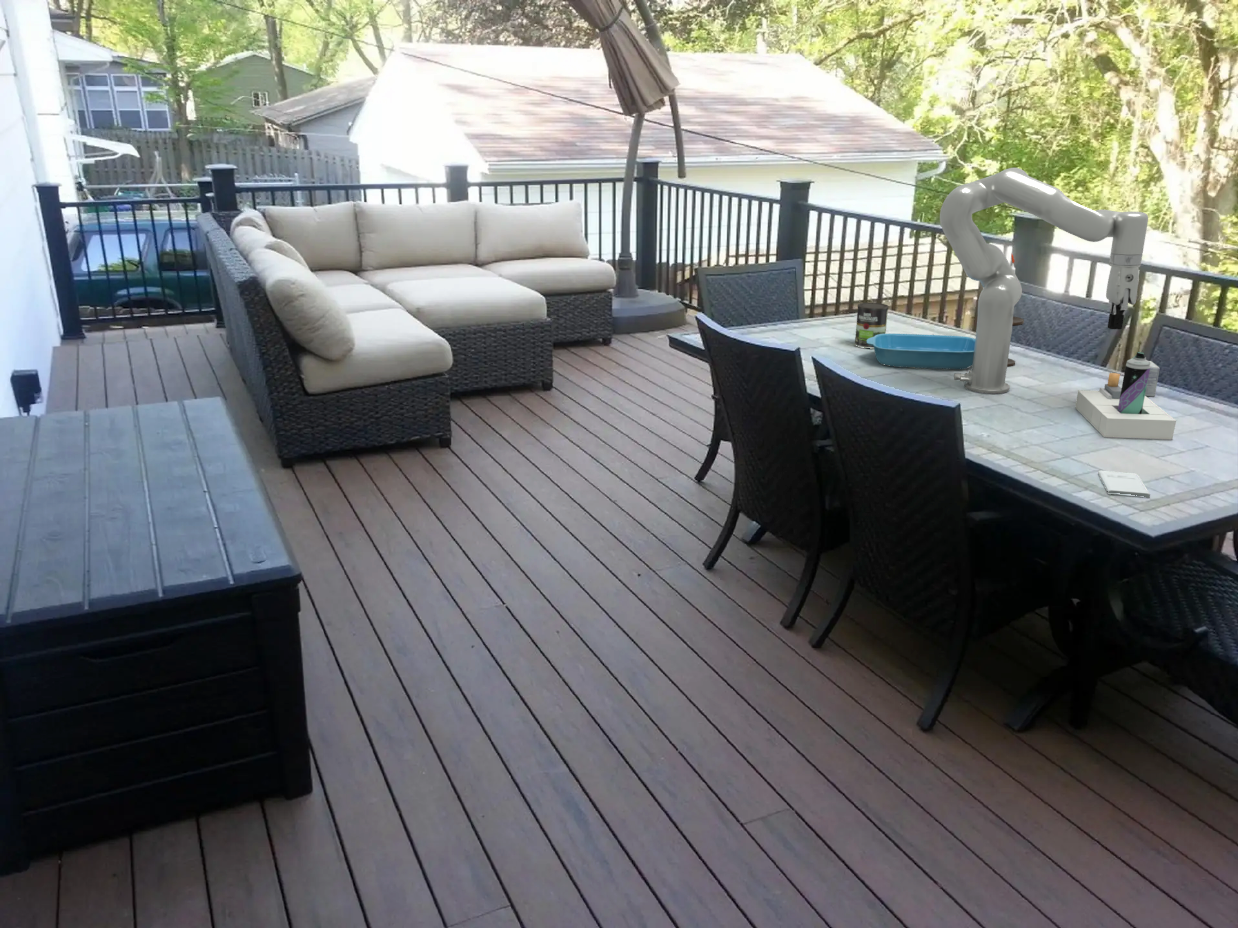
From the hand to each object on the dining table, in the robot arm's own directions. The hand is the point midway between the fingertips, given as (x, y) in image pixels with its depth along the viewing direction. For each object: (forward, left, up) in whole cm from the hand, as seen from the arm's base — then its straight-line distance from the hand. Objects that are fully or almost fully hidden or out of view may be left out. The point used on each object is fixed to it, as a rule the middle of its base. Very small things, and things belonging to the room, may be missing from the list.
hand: (1114, 328), depth 260 cm
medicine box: (+15, +12, -22) cm, 29 cm away
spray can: (0, -22, -21) cm, 31 cm away
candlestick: (-18, +42, -21) cm, 51 cm away
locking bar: (0, -9, -16) cm, 18 cm away
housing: (0, -17, -21) cm, 27 cm away
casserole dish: (-42, +42, -22) cm, 63 cm away
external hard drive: (-14, -63, -22) cm, 68 cm away
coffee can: (-57, +62, -22) cm, 87 cm away
